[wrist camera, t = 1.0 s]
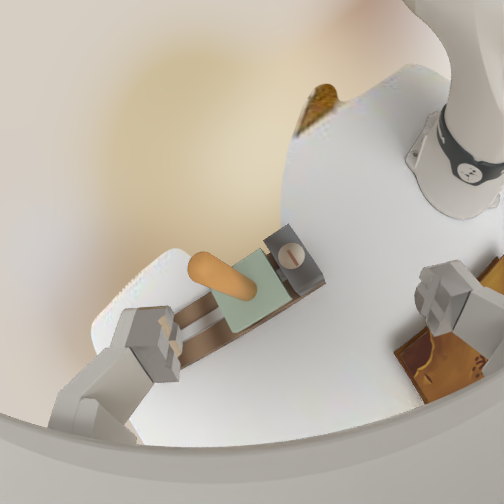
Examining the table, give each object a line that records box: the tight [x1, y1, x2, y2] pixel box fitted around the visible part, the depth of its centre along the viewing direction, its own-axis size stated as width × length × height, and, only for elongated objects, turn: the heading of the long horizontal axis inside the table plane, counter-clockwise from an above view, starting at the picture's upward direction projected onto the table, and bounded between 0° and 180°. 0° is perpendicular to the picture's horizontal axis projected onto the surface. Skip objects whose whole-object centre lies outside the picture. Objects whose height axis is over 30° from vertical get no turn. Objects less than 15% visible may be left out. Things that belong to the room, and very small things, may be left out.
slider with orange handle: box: [188, 248, 292, 333], centre depth 34 cm, size 9×8×15 cm
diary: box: [394, 255, 504, 404], centre depth 28 cm, size 23×19×6 cm
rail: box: [173, 224, 326, 370], centre depth 41 cm, size 33×8×8 cm, turn 120°
